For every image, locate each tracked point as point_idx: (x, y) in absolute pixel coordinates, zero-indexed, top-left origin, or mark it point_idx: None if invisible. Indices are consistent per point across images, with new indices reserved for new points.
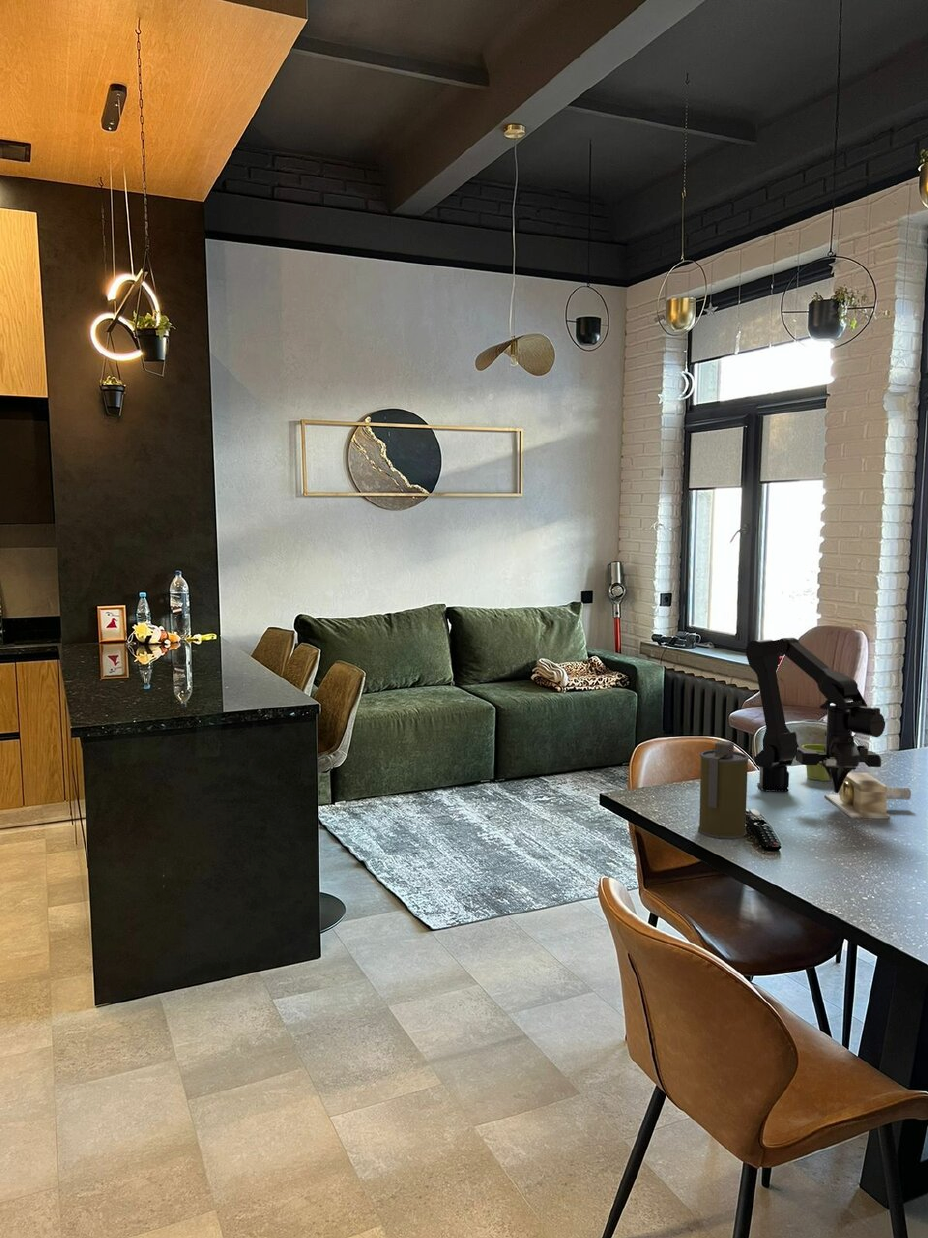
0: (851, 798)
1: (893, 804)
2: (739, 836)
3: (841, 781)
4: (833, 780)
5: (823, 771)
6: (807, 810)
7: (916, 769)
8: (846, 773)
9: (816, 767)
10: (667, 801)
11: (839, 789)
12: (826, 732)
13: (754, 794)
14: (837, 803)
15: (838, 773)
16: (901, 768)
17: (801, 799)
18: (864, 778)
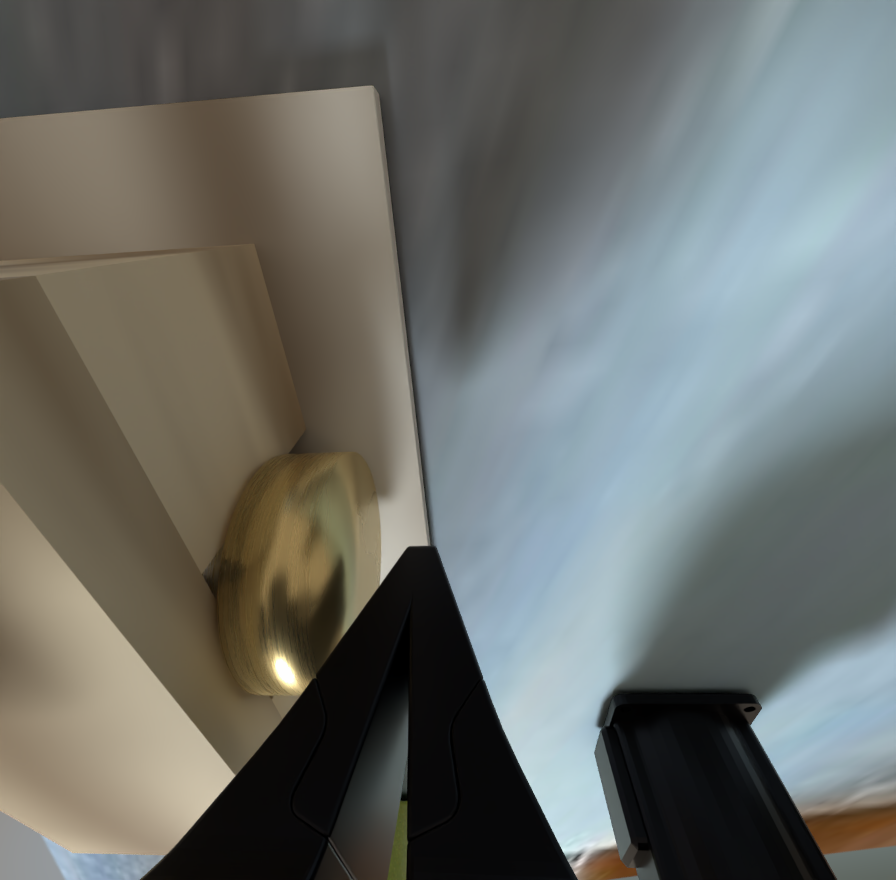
0: (291, 458)
1: None
2: None
3: (351, 668)
4: (480, 680)
5: None
6: (728, 351)
7: (58, 855)
8: (196, 858)
9: (401, 877)
10: None
11: (393, 572)
12: None
13: (850, 655)
14: (411, 506)
15: (363, 851)
16: (103, 859)
17: (607, 599)
18: (20, 750)
